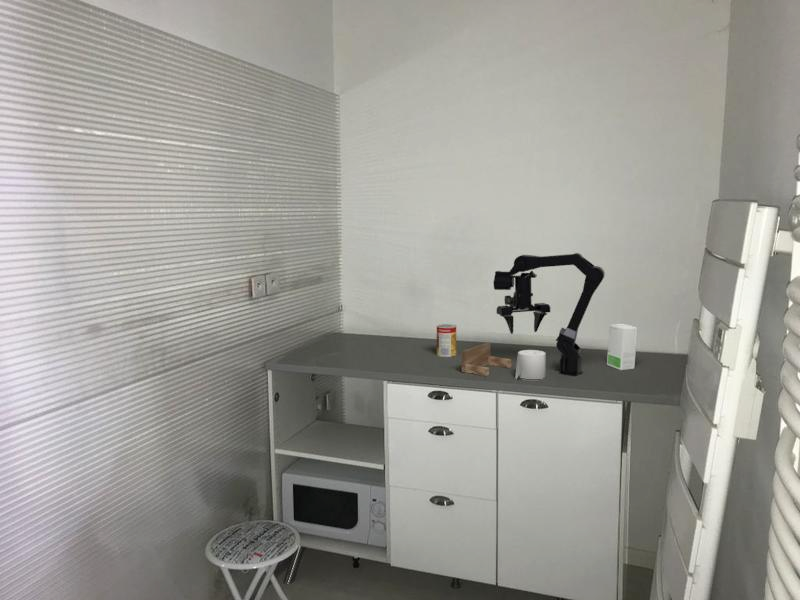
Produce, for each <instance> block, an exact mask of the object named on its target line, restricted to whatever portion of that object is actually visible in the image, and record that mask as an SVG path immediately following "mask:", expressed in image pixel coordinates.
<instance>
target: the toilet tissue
mask: <svg viewBox="0 0 800 600" xmlns="http://www.w3.org/2000/svg"><path fill="white" fill-rule="evenodd" d="M546 355H547V353H546V352H545V351H543V350H538V349H537V350H536V349H523V350H520V351H518V352H517V358H516V359H517V360H516V365H515V367H516V369H515V376H514V379H515V378H516V379H515V380H517V379H518V378H519V377H520V378H525V379H542V380H544V379H545V378H546V368H547V367H546V365H547V364H546V362H547V361H546V360H547V356H546ZM518 376H519V377H518ZM544 377H545V378H544ZM520 378H519V379H520ZM543 378H544V379H543ZM525 379H524V380H525Z"/></svg>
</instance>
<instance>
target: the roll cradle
mask: <svg viewBox="0 0 800 600" xmlns="http://www.w3.org/2000/svg"><path fill="white" fill-rule="evenodd" d="M485 365H486V366H493V365H494V366H495V367H499V366H500V368H505V367H506V368H507V369H510V367H511V368H512V359H511V358H504V357H500V356H498V357H497V356H492V355H491V343H489V342H484V343H481V344H479V345H475V346H472V347H468V348H465V349H463V350H461V373H462V372H468V373H474V374H479V375H486V376H487V375H489V376H490V367H486V366H485ZM482 366H483V367H482ZM468 373H467V374H468ZM479 375H478V376H479Z"/></svg>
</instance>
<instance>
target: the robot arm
mask: <svg viewBox="0 0 800 600" xmlns="http://www.w3.org/2000/svg"><path fill="white" fill-rule="evenodd" d="M562 266H574V267H576V269H577V270H579V271H580V273H582V274H583V275H584V276H585V278H584V283H583V289H582V292H581V293H580V295H579V296H580V297H579V299H578V301H577V303H576V306H575V308H574V311H573V313H572V315H571V318H570V320H569V322H568V324H567V326H566V327H565V328H564V327H561V328H560V330H559V334H558V336H557V338H556V339H555V341H556V348H557V350H558V351H559V352H560V353H561V357H560V359H559V371H558V374H561V375H562V374H563V375H568V376H569V375H570V376H575V377H576V376H578V375H580V374H582V373H584V371H583V370H582V355H579V354H580V352H581V350H582V348H581V347H580V346H579V345H578V344H577V343H576V341H577V338H578V337H577V336H578V331H579V327H580V325H581V323H582V322H583V321H582V320H583V318H584V316H585V313H586V311H587V308H588V307H589V304H590V302H591V300H592V298H593V295H594V293H595V292H596V290H597V289H598V288H599V286H600V284H601V282H602V281H603V279H604V278H605V271H604V269H603V268H602V267H600V266H599V265H594V263H592V262H591V261H589V260H588V259H586V258H585V257H584V256H583V255H582V254H581V253H579V252H574V253H571V254H569V253H568V254H558V255H557V254H556V255H546V256H545V255H544V256H542V255H541V256H540V255H539V256H538V255H533V254H532V255H530V254H521V255H518V256H517V257H516V258H515V259H514V261H513V266H512V268H511V269H509V271H502V270H501V271H500V270H496V271H495V272H494V279H493V289H494V290H495V291H511V290H512V288H514V292H513V296H511V295H505V296H504V305H498V306H497V307H496V314H497V315H499V316H500V317H503V319H504V320H505V322H506V324H507V327H508V330H509V332H510V334H511V335H513V334H514V315H512V314H514V313H525V312H532V313H533V317H534V318H533V319H534V320H533V330H534V332H535V333H537V331H538V329H539V327H540V325H541V322H542V321H543V319H544V317H545V316H547V315H548V313H551V305H550V304H548V303H546V302H538V303H534V304H532V297H533V296H534V293H533V292H532V278H533V279H536V278H537V276H538V275H537V274H536V273H535V272H534V270H536V269H540V268H546V267H548V268H549V267H562ZM527 271H529V272H527ZM518 273H521V274H519V275H518ZM516 274H517V275H516Z"/></svg>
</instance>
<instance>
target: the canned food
mask: <svg viewBox="0 0 800 600" xmlns="http://www.w3.org/2000/svg"><path fill="white" fill-rule="evenodd" d="M436 356H437V357H440V358H441V357H442V358H452V356H454V357H456V356H457V325H456V324H453V323H441V324H436Z"/></svg>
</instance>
